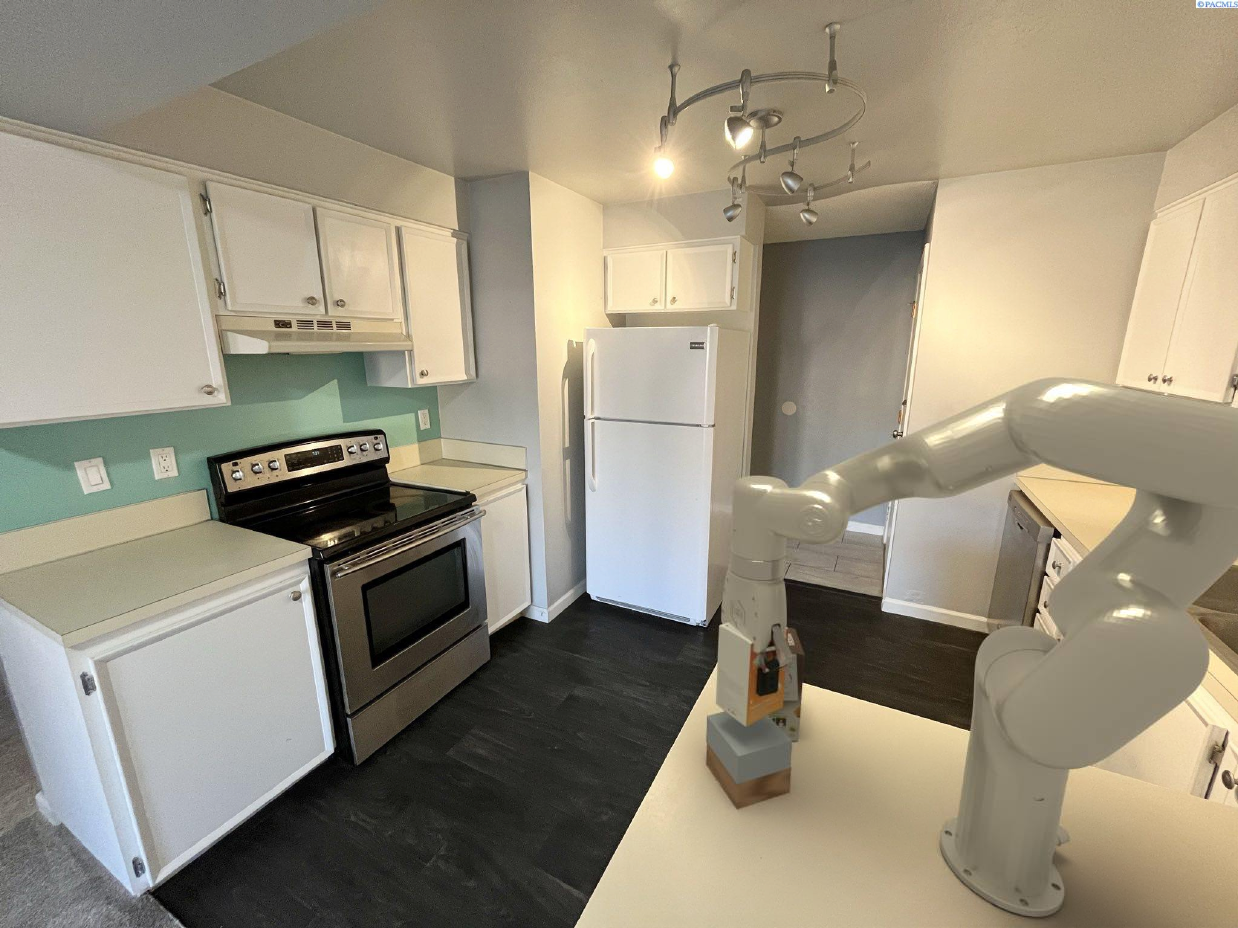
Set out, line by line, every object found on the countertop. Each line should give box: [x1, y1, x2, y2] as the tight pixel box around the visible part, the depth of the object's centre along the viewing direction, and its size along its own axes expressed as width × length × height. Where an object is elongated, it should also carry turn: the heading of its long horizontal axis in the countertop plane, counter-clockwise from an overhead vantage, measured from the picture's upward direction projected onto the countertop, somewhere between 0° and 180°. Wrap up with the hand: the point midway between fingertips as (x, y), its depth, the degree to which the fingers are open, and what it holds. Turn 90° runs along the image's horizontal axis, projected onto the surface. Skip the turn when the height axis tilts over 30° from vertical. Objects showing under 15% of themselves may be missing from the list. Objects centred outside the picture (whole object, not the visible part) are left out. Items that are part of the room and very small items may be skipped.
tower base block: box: [705, 742, 792, 810], centre depth 79 cm, size 9×9×4 cm
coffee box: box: [768, 627, 806, 742], centre depth 90 cm, size 9×6×16 cm
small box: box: [715, 622, 790, 727], centre depth 76 cm, size 8×6×13 cm
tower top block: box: [705, 710, 793, 784], centre depth 78 cm, size 9×9×4 cm
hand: (751, 676), depth 76 cm, fingers closed on small box, 7 cm apart
